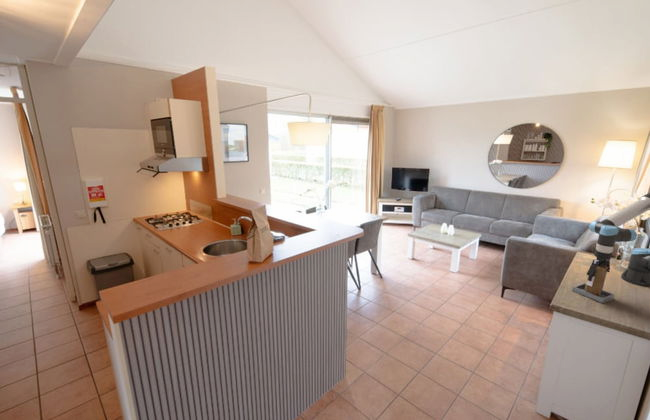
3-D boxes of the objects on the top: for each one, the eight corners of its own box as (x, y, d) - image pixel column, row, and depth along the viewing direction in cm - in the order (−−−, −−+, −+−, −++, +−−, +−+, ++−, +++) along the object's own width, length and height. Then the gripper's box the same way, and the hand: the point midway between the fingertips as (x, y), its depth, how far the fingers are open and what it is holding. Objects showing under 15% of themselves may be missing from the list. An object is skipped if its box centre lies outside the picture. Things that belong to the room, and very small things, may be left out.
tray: (583, 286, 192) (584, 282, 192) (613, 298, 179) (614, 294, 178) (571, 290, 188) (572, 286, 187) (602, 303, 174) (603, 299, 173)
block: (598, 299, 177) (606, 269, 171) (582, 294, 183) (589, 265, 177) (602, 292, 183) (610, 263, 178) (587, 288, 189) (594, 259, 184)
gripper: (607, 245, 184) (599, 276, 189) (584, 252, 174) (576, 284, 180) (622, 250, 177) (614, 281, 183) (599, 257, 167) (591, 290, 173)
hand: (595, 283), depth 181 cm, fingers open, 13 cm apart
